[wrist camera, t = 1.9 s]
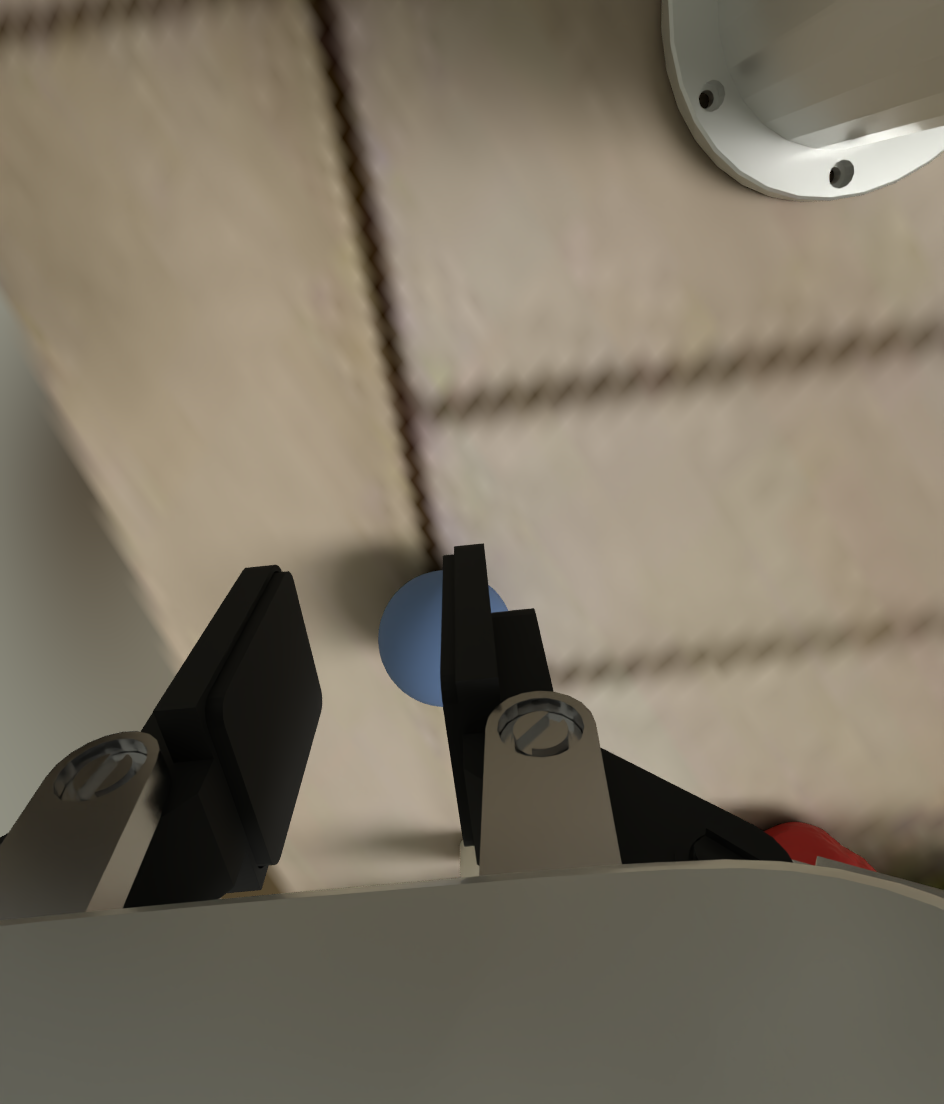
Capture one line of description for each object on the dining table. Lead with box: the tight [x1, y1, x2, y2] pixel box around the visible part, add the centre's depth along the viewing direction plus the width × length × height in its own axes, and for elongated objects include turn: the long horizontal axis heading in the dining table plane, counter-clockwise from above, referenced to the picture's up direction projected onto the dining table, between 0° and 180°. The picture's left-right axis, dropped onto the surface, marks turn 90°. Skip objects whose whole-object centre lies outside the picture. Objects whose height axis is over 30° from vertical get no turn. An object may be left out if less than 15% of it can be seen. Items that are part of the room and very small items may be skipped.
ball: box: [378, 570, 508, 707], centre depth 28 cm, size 6×6×6 cm
